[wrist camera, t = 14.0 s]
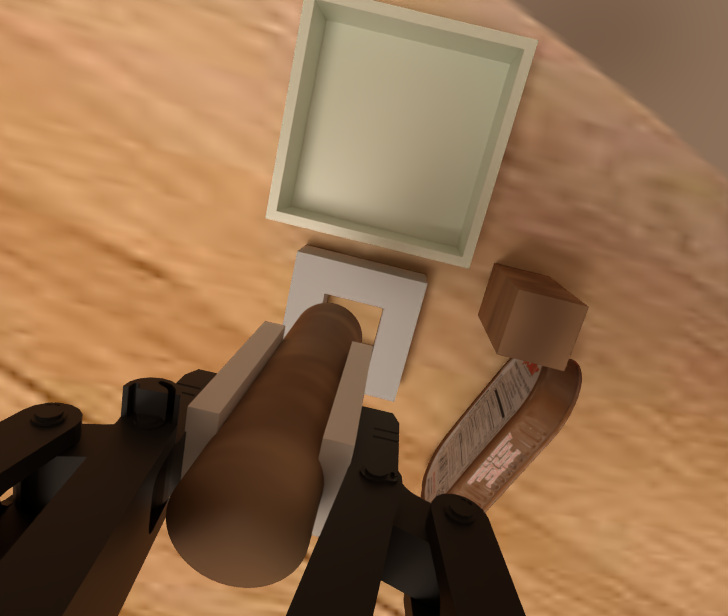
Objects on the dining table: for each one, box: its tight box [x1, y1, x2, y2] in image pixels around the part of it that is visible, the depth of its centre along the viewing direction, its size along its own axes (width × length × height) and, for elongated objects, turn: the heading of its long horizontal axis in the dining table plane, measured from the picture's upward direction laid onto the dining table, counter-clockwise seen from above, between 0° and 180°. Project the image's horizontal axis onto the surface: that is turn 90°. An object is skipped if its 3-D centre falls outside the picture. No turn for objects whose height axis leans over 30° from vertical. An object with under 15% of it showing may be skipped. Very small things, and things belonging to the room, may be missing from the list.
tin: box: [421, 358, 582, 513], centre depth 34 cm, size 15×3×8 cm, turn 147°
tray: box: [266, 0, 538, 269], centre depth 31 cm, size 13×13×5 cm
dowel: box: [166, 303, 362, 588], centre depth 16 cm, size 3×3×12 cm
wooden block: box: [478, 263, 589, 371], centre depth 32 cm, size 4×4×8 cm
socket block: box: [283, 245, 427, 402], centre depth 36 cm, size 9×9×3 cm
